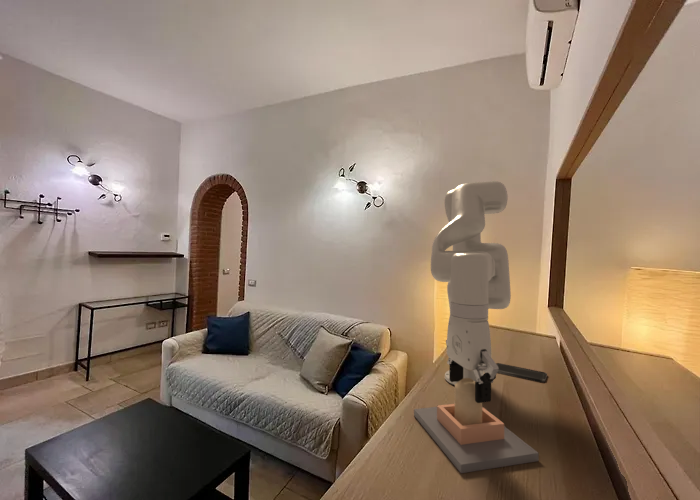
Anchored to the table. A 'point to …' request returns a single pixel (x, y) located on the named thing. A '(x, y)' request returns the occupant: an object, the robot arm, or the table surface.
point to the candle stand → (474, 440)
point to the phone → (522, 372)
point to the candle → (467, 403)
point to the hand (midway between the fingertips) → (468, 390)
